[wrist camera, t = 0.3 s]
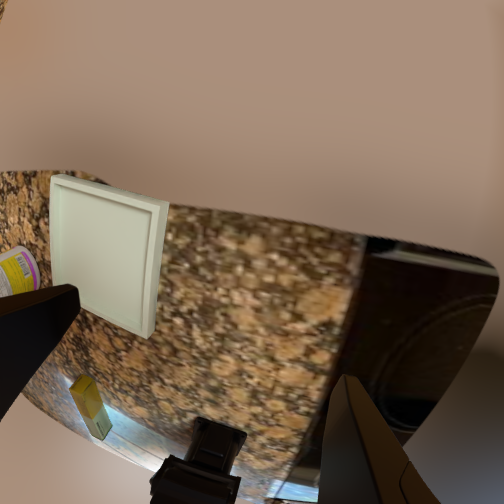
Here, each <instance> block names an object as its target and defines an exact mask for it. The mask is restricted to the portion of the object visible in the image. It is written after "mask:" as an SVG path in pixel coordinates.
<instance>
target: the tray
mask: <svg viewBox="0 0 504 504" xmlns="http://www.w3.org/2000/svg"><path fill="white" fill-rule="evenodd" d="M168 209H169V202H166V201H163V200H159V199H155V198H151V197H148V196H144V195H141V194H137V193H133V192H130V191H126V190H122V189H119V188H115V187H111V186H107V185H104V184H100V183H96V182H92V181H88V180H84V179H80V178H77V177H73V176H69V175H65V174H59V175H54V176H51V185H50V253H51V269H52V280H53V286H57V285H62V284H67V283H69V284H72V285H74V286H76V287H77V288H78V290H79V296H80V304H81V307H82V308H84V309H86V310H88V311H90V312H92V313H93V314H95V315H97V316H99V317H101V318H103V319H105V320H107V321H109V322H111V323H113V324H115V325H117V326H119V327H121V328H124V329H126V330H128V331H130V332H132V333H134V334H136V335H139V336H141V337H143V338H145V339H148V338H149V337H150V335H151V334H152V333H153V332H154V331H155V318H156V306H157V295H158V285H159V275H160V266H161V258H162V250H163V242H164V235H165V228H166V222H167V215H168Z"/></svg>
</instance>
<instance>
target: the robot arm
mask: <svg viewBox="0 0 504 504" xmlns="http://www.w3.org/2000/svg"><path fill="white" fill-rule="evenodd" d="M80 309H81V304H80V296H79V290H78V288H77V287H76V286H74V285H72V284H69V283H67V284H62V285H57V286H52V287H48V288H43V289H38V290H33V291H28V292H24V293H19V294H14V295H9V296H5V297H0V422H1V419H2V418H3V417H4V415H5V414H6V412H7V411H8V410H9V408H10V407H11V405H12V404H13V402H14V401H15V399H16V398H17V397H18V395H19V394H20V393H21V391H22V390H23V388H24V387H25V386H26V384H27V383H28V382H29V380H30V379H31V378H32V376H33V375H34V374H35V372H36V371H37V370H38V368H39V367H40V366H41V365H42V363H43V362H44V361H45V359H46V358H47V357H48V356H49V354H50V353H51V352H52V351H53V349H54V348H55V347H56V346H57V344H58V343H59V342H60V340H61V339H62V337H63V336H64V334H65V333H66V331H67V330H68V328H69V327H70V325H71V324H72V322H73V321H74V320H75V318H76V317H77V315H78V314H79V312H80ZM246 438H247V433H245V432H242V431H239V430H236V429H233V428H229V427H226V426H223V425H220V424H217V423H215V422H212V421H209V420H206V419H203V418H201V417H197V418H196V420H195V425H194V430H193V435H192V440H191V441H192V442H191V445H190V447H189V449H188V451H187V453H186V455H185V458H184V460H182V459H180V458H177V457H175V456H174V455H171V454H170V456H169V457H168V458H165V460H164V462H163V464H162V466H161V467H160V469H159V470H158V471H157V472H156V473H155V474H154V475H153V477H152V478H151V479H150V484H151V491H150V495H151V496H152V499H151V501H150V504H234V503H235V500H236V496H237V493H238V489H239V485H240V481H241V477H238V476H237V477H236V476H232V475H230V472H231V469H232V466H233V462H234V459H235V457H236V456H237V455H238V453H239V451H240V449H241V448H242V446H243V444H244V442H245V440H246ZM317 504H441V503H440V502H439V500H438V499H437V498H436V497H435V496H434V494H433V493H432V492H431V490H430V489H429V488H428V486H427V485H426V483H425V482H424V481H423V479H422V478H421V476H420V475H419V473H418V472H417V470H416V469H415V467H414V465H413V464H412V462H411V461H409V458H408V456H407V454H406V453H405V451H404V450H403V448H402V447H401V445H400V443H399V442H398V440H397V439H396V437H395V435H394V434H393V432H392V431H391V429H390V428H389V426H388V425H387V423H386V421H385V420H384V418H383V417H382V415H381V414H380V412H379V411H378V409H377V407H376V406H375V404H374V403H373V401H372V400H371V398H370V397H369V395H368V394H367V392H366V391H365V389H364V388H363V386H362V384H361V383H360V381H359V380H358V378H357V377H356V376H352V375H347V374H344V375H342V376H341V378H340V379H339V381H338V383H337V385H336V386H335V388H334V390H333V392H332V394H331V398H330V404H329V410H328V416H327V422H326V427H325V432H324V438H323V447H322V461H321V472H320V483H319V493H318V502H317Z"/></svg>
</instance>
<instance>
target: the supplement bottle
mask: <svg viewBox="0 0 504 504" xmlns="http://www.w3.org/2000/svg"><path fill="white" fill-rule="evenodd" d="M39 287H40V273H39V269H38V265H37V263H36V261H35V259H34V257H33V255H32V254H31V253H30V251H29V250H28V249H26V248H25V247H23V246H16V247H14V248H12V249H9V250H7V251H5V252H3V253H1V254H0V297H5V296H9V295H14V294H19V293H24V292H28V291H33V290H38V289H39Z"/></svg>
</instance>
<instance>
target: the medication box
mask: <svg viewBox="0 0 504 504" xmlns="http://www.w3.org/2000/svg"><path fill="white" fill-rule="evenodd" d="M69 391H70V393H71V395H72V397H73V399H74V402H75V404H76V406H77V408H78V410H79V412H80V414H81V416H82V418H83V420H84V422H85V424H86V426H87V428H88V429H89V431H90V433H91V435H92V436H94V437H95V438H97V439H100V440H102V441H103V440H104V439H105V437H106V436H107V434H108V432H109V431H110V429H111V428H112V424H111V421H110V419H109V417H108V414H107V412H106V409H105V407H104V405H103V402H102V400H101V397H100V394H99V392H98V389H97V386H96V384H95V381H94V379H92V378H90V377H88V376H86V375H83V374H82V375H81V376H80V377H79V378H78V379H77V380H76V381H75V382H74V384H73V385H72V386H71V387H70V388H69Z"/></svg>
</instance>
